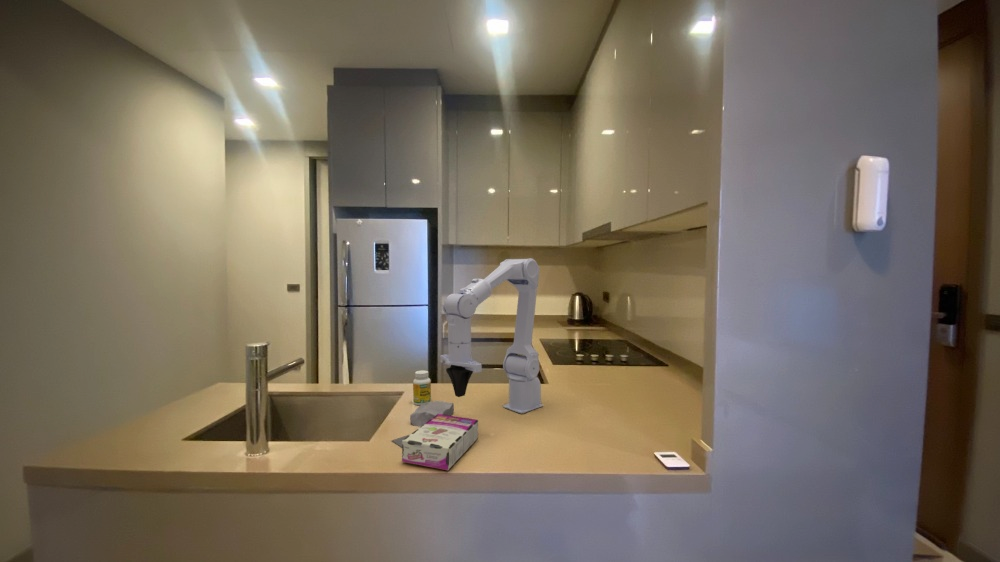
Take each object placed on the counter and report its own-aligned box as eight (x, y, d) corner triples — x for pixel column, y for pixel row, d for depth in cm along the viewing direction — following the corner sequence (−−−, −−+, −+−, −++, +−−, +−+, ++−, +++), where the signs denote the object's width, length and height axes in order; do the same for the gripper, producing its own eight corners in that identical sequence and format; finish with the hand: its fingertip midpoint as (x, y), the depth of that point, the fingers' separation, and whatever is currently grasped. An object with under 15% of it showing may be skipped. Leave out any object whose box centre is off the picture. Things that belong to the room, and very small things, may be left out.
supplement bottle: (424, 398, 126) (424, 368, 126) (434, 402, 122) (434, 371, 122) (409, 402, 122) (409, 371, 122) (419, 407, 119) (419, 375, 118)
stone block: (408, 433, 104) (443, 428, 103) (404, 415, 105) (440, 409, 103) (424, 418, 116) (457, 413, 114) (421, 401, 116) (454, 396, 115)
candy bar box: (437, 432, 100) (400, 462, 84) (438, 413, 99) (400, 439, 84) (479, 439, 96) (448, 472, 80) (479, 419, 96) (448, 447, 80)
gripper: (429, 340, 102) (430, 392, 102) (464, 348, 91) (465, 406, 92) (452, 336, 106) (452, 386, 107) (488, 344, 96) (488, 399, 96)
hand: (460, 395), depth 100 cm, fingers closed
